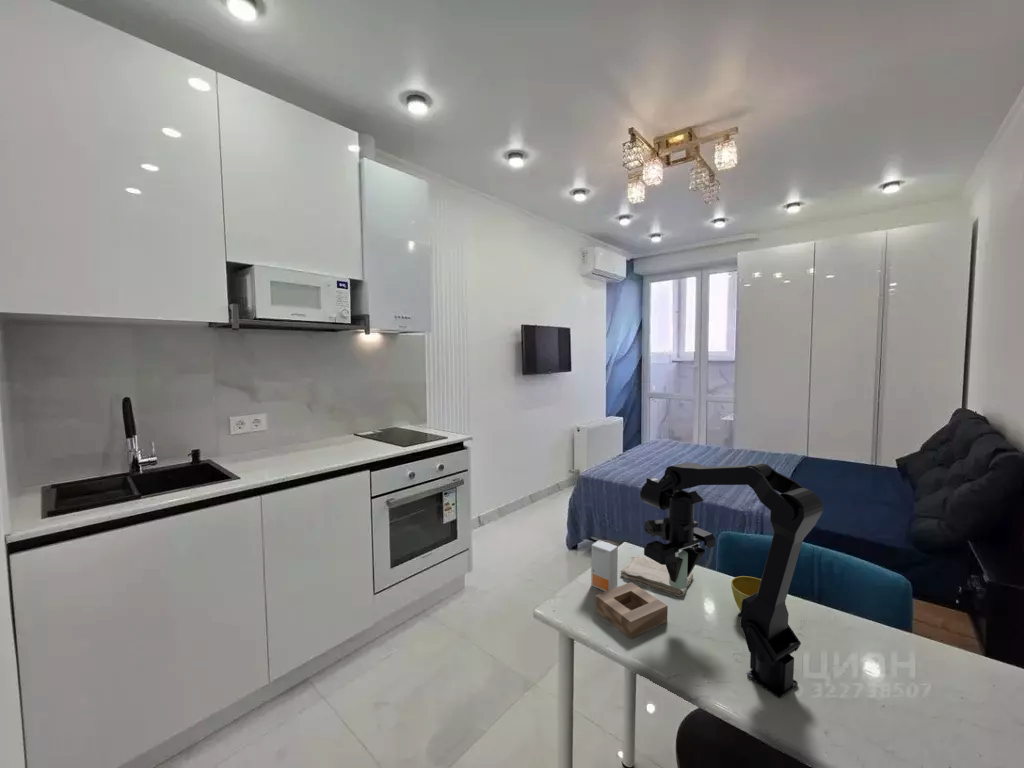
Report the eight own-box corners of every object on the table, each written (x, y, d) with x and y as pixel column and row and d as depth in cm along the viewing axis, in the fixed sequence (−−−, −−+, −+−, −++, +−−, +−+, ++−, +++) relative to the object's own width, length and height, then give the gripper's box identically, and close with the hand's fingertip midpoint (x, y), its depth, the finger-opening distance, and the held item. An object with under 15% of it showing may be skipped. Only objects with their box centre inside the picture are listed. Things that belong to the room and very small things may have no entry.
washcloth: (633, 561, 132) (633, 552, 132) (694, 579, 122) (694, 568, 121) (618, 579, 122) (618, 568, 122) (684, 599, 112) (684, 588, 112)
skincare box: (590, 586, 118) (590, 544, 117) (598, 579, 121) (598, 539, 120) (610, 594, 114) (610, 551, 113) (618, 587, 117) (618, 545, 116)
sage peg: (690, 585, 102) (691, 554, 101) (679, 590, 100) (680, 558, 99) (676, 577, 105) (677, 547, 105) (665, 582, 103) (666, 551, 103)
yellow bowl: (785, 617, 103) (786, 589, 102) (765, 634, 97) (766, 604, 97) (743, 598, 111) (743, 571, 111) (722, 612, 106) (723, 584, 105)
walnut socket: (667, 621, 102) (667, 605, 102) (630, 638, 97) (630, 621, 96) (630, 596, 113) (630, 581, 112) (595, 610, 107) (595, 595, 107)
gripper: (679, 498, 112) (678, 555, 114) (627, 512, 103) (626, 574, 105) (717, 512, 103) (715, 574, 104) (663, 529, 94) (662, 597, 95)
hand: (679, 579), depth 102 cm, fingers closed on sage peg, 4 cm apart
